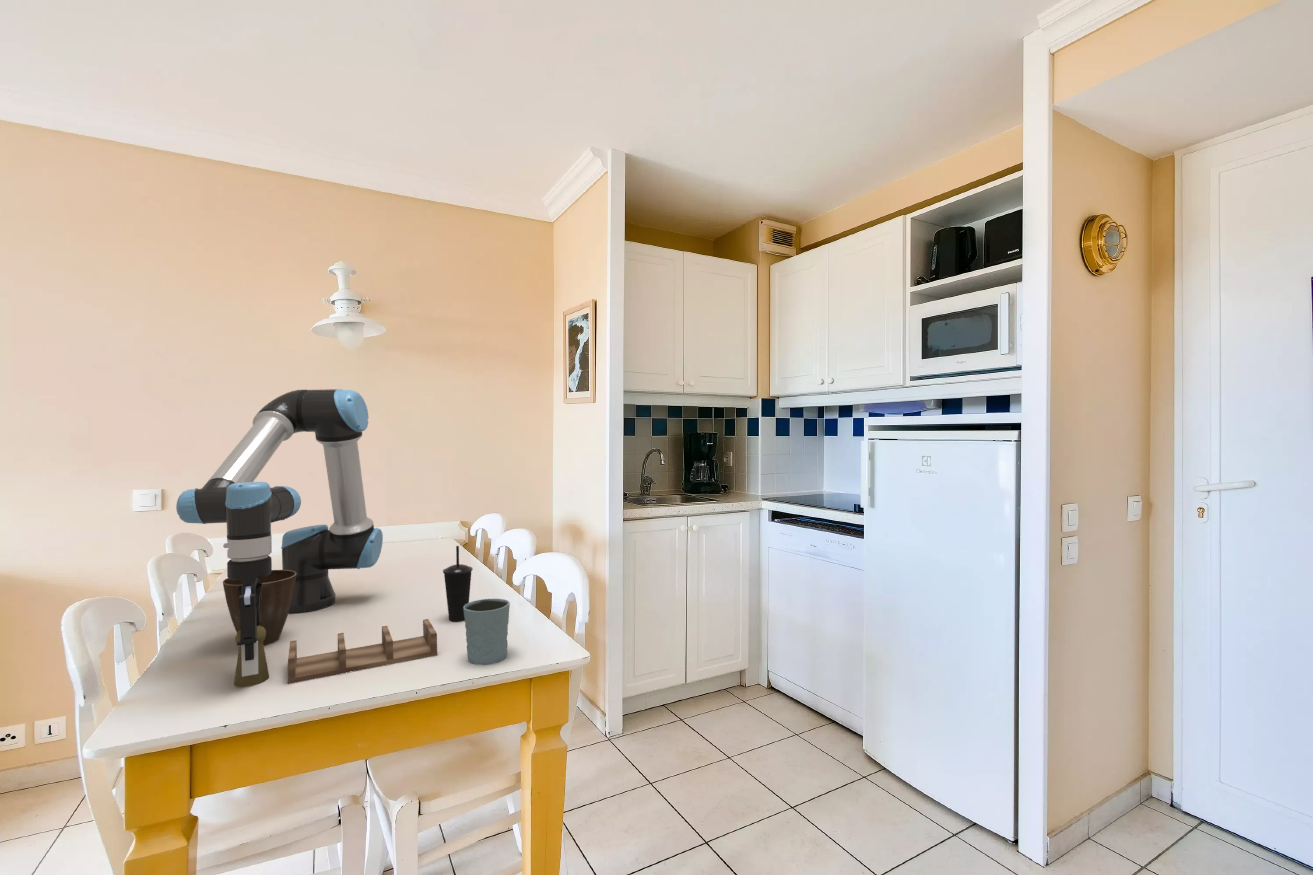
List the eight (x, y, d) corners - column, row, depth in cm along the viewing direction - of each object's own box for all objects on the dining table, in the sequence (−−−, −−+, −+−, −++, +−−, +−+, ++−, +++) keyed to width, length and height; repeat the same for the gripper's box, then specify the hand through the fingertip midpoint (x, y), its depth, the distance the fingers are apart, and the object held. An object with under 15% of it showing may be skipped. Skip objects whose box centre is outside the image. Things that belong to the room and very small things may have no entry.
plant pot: (303, 628, 152) (302, 567, 152) (289, 647, 138) (288, 580, 138) (236, 635, 147) (234, 572, 147) (214, 656, 133) (212, 587, 133)
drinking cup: (456, 625, 153) (455, 549, 153) (437, 620, 157) (436, 546, 157) (479, 617, 160) (478, 544, 159) (460, 612, 164) (459, 542, 163)
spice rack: (290, 663, 129) (290, 641, 129) (428, 639, 143) (428, 618, 143) (288, 683, 118) (287, 659, 118) (437, 655, 133) (436, 633, 133)
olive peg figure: (232, 679, 121) (231, 626, 120) (267, 671, 124) (266, 620, 124) (235, 689, 116) (234, 634, 116) (271, 680, 120) (270, 627, 120)
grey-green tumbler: (471, 669, 125) (470, 613, 125) (458, 654, 133) (457, 602, 133) (516, 658, 130) (516, 605, 130) (502, 645, 139) (501, 595, 139)
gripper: (232, 551, 126) (234, 658, 126) (220, 568, 110) (223, 690, 110) (274, 547, 130) (275, 651, 130) (268, 563, 114) (270, 681, 114)
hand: (251, 669), depth 120 cm, fingers closed on olive peg figure, 5 cm apart
